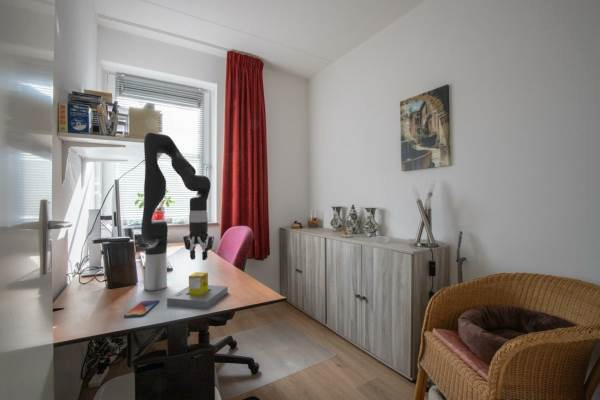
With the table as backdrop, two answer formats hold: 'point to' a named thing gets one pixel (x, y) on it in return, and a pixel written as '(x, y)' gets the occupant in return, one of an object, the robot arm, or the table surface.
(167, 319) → the table surface
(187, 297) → the socket plate
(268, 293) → the table surface
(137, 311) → the smartphone
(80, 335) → the table surface
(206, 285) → the supplement box
